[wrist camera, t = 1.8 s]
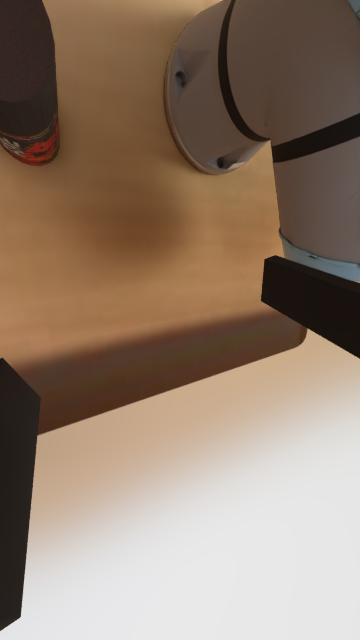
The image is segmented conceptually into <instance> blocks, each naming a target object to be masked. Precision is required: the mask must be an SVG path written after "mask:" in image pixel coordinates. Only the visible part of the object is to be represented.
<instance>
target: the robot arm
mask: <svg viewBox="0 0 360 640" xmlns="http://www.w3.org/2000/svg"><path fill="white" fill-rule="evenodd" d="M164 98H165V108H166V114H167V119H168V123H169V126H170V130H171V132H172V135H173V137H174V140H175V142H176V144H177V146H178V148H179V149H180V151H181V152H182V154H183V155H184V156H185V158H186V159H187V160H188V161H189V162H190V163H191V164H192V165H193V166H194V167H196V168H197V169H199V170H200V171H202V172H205V173H208V174H213V175H220V174H224V173H228V172H231V171H233V170H235V169H237V168H239V167H240V166H242V165H244V164H245V163H246V162H247V161H248V160H249V159H250V158H251V157H252V156H253V155H254V154H255V153H256V152H257V151H258V150H260V149H261V148H262V147H263V146H264V145H265V144H266V143H267V142H268V141H269V140H271V148H272V157H273V168H274V177H275V185H276V193H277V201H278V209H279V219H280V228H279V236H280V238H281V239H282V244H283V250H284V255H285V258H286V259H285V258H282V257H279V256H276V255H275V256H272V257H269V258H267V259H265V261H264V272H263V284H262V295H261V301H262V302H264V303H265V304H267V305H269V306H270V307H272V308H274V309H276V310H277V311H279V312H281V313H282V314H284V315H286V316H288V317H289V318H291V319H293V320H294V321H296V322H298V323H300V324H301V325H303V326H305V327H306V328H308V329H310V330H312V331H313V332H315V333H317V334H319V335H321V336H322V337H324V338H326V339H327V340H329V341H330V342H332V343H334V344H336V345H337V346H339V347H341V348H342V349H344V350H346V351H348V352H349V353H351V354H353V355H354V356H356V357H358V358H359V359H360V283H357V282H354V281H360V0H223V1H221V2H219V3H217V4H215V5H213V6H211V7H209V8H208V9H206V10H204V11H202V12H200V13H199V14H198V15H196V16H195V17H194V18H193V19H192V20H191V21H190V22H189V23H188V24H187V26H186V27H185V28H184V30H183V31H182V33H181V34H180V36H179V37H178V39H177V41H176V42H175V44H174V46H173V48H172V51H171V53H170V56H169V59H168V63H167V68H166V73H165V83H164ZM40 401H41V398H40V397H39V396H38V394H37V393H36V392H35V391H34V390H33V389H32V388H31V387H30V386H29V385H28V384H27V383H26V382H25V381H24V380H23V379H22V378H21V377H20V376H19V374H18V373H17V372H16V371H15V370H14V369H13V368H12V367H11V366H10V365H9V364H8V363H7V362H6V361H5V360H4V359H3V358H1V359H0V631H1V630H2V629H4V628H5V627H7V626H8V625H10V624H11V623H13V622H14V621H16V620H17V619H19V618H20V617H21V607H22V596H23V585H24V574H25V564H26V553H27V542H28V531H29V519H30V510H31V499H32V488H33V477H34V466H35V455H36V444H37V433H38V422H39V412H40Z"/></svg>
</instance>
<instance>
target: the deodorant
mask: <svg viewBox="0 0 360 640" xmlns="http://www.w3.org/2000/svg"><path fill="white" fill-rule="evenodd" d="M59 142H60V138H59V119H58V100H57V82H56V63H55V44H54V39H53V34H52V29H51V24H50V20H49V18H48V15H47V12H46V10H45V7H44V5H43V2H42V0H0V144H1V145H2V147H3V148H4V149H5V150H6V151H7V152H8V153H9V154H11V155H12V156H13V157H14V158H16V159H18V160H19V161H21V162H23V163H26V164H29V165H36V166H41V165H45V164H48V163H50V162H51V161H52V160H54V158H55V157H56V155H57V154H58V150H59Z"/></svg>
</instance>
